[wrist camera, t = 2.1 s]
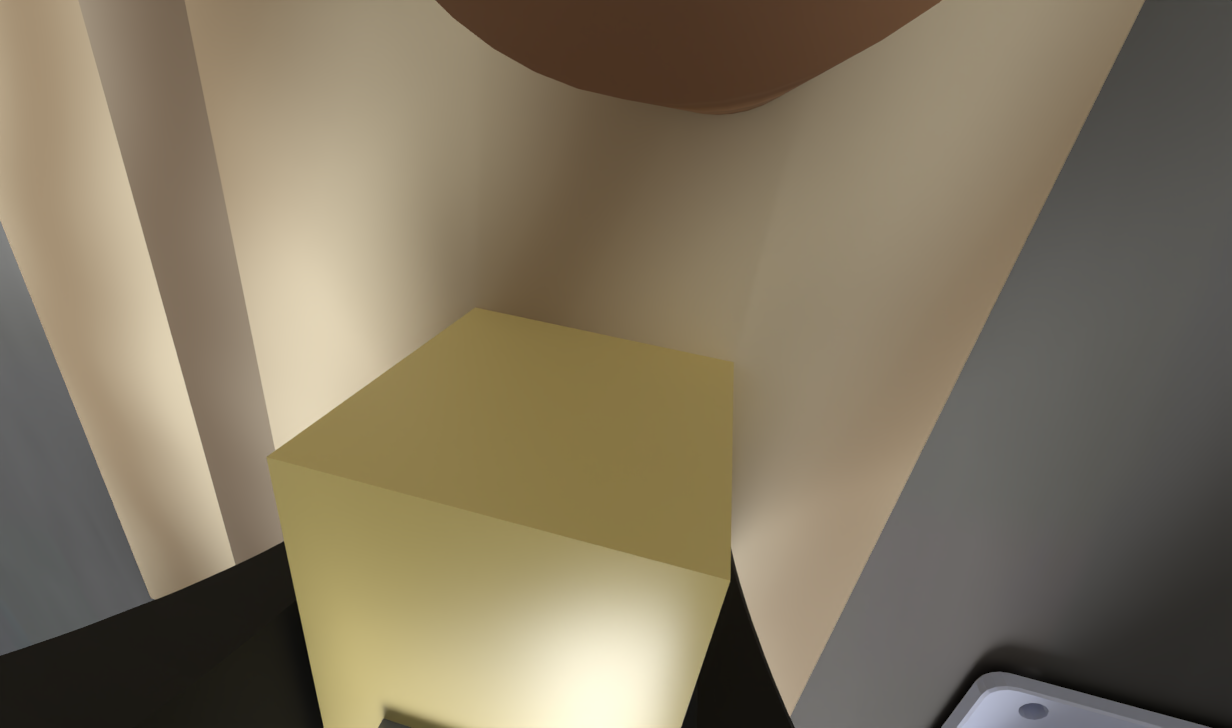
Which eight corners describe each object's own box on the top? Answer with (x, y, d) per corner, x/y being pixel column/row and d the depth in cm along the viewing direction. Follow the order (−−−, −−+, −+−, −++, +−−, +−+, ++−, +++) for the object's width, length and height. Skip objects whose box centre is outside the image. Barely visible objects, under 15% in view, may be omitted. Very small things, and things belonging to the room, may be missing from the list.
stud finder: (733, 362, 8) (730, 609, 4) (652, 667, 12) (605, 966, 8) (475, 307, 9) (238, 476, 5) (471, 613, 13) (335, 865, 8)
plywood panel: (1352, -553, 5) (1498, -712, 4) (753, 746, 14) (754, 788, 13) (-200, -532, 7) (-338, -628, 6) (182, 572, 16) (150, 598, 15)
